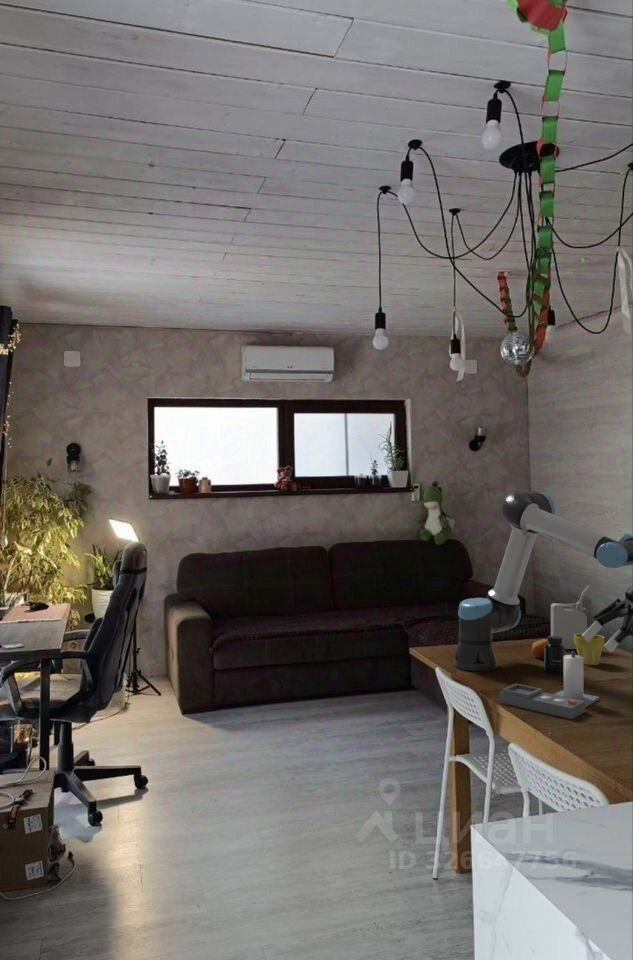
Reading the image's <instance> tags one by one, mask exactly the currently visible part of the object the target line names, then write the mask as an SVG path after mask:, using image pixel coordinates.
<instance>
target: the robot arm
mask: <svg viewBox="0 0 633 960" xmlns="http://www.w3.org/2000/svg"><path fill="white" fill-rule="evenodd" d="M500 505H501V506H500V512H501V513H500V514H501V515H502V517H503V520H505V522H507V523H508V524H509V525H510V527H511V529H512V530H511V533H510V535H509V539H508V541H507V545H506V549H505V551H504V555H503V557H502V562H501V565H500V567H499V570H498V573H497V577H496V581H495V584H494V586H493V588H491V589H489V590H488V592H487V595H486V597H474V598H473V597H471V598H467V599H464V600H462V601H460V603H459V606H458V612H457V613H458V614H457V615H458V645H457V647H456V651H455V654H454V657H453V666H454V667H456V668H458V669H460V670H464V671H473V672H488V671H489V672H490V671H494V670H496V669H497V668H498V659H497V656H496V653H495V650H494V646H493V634H495V633H500V632H506V631H509V630H511V629H513V628H515V627H516V626H517V625H518V624H519V622H520V620H521V616H522V615H521V614H522V610H521V608H520V602H521V601H520V599H519V597H518V594H519V591H520V588H521V585H522V582H523V578H524V576H525V574H526V573H525V572H526V568H527V567H528V562H529V559H530V557H531V553H532V550H533V548H534V544H535V541H536V539H537V537H538V536H540V535H542V536H543V537H546V538H548V539H551V540H553V541H555V542H557V543H559V544H562V545H565V546H567V547H569V548H570V549H573V550H576V551H578V552H580V553H582V554H585V555H586V556H589V557H591V558H593V559H596V560H597V561H598V562H599V563H600V564H601V566H603V567H605V568H609V569H610V568H611V569H617V568H621V567H622V568H623V567H626V566H627V567H628V566H633V535H632V534H630V533H625V534H623V535H621V536H620V537H618V539H617V540H615V539H613V538H610V537H607V536H606V535H604V534H601V533H598V532H596V531H594V530H592V529H589V528H587V527H584V526H582V525H579V524H577V523H575V522H572V521H570V520H567V519H565V518H562V517H560V516H557V515H556V514H555V510H556V507H555V503H554V501H553V500H552V498H551V497H550V496H549V495H548V494H546V493H544V492H540V491H537V490H533V491H513V492H511V493H509V494H508V495H506V496H505V497H503V500H502V502H501V504H500ZM624 597H625V599H624V600H621V599H620V598H617V599H616V600H614V602H612V603H611V604H609V605H607V607H605V608H603V609H602V610H600V611H599V612H598V613H596V614H595V615H594V616H593V618H594V621H593V623H592V624H591V625H590V626H589V627H587V630H586V631H585V632H584V634H583V635H582V637H583V638H584V639H585V640H586V641H587V642H589V641H590V640H591V639H592V638H593V637H594V636H595V635H598V633H599V632H600V631H601V630H602V628H604V625H605V624H607V623H610V622H611V621H614V620H615V619H617V618H623V619H622V620H623V621H622V624H621V627H620V628H619V629H617V631H615V632H614V634H613V635H612V636H611V637H610V638H609V639H608V641H606V643H605V645H604V648H605V649H606V650H607V651H608V652H609V653H613V651H614V650H615V649H616V648H617V647H618V646H619V645H620V644H621V643H622V642H623V640H625V639H626V637H629V636H631V637H633V585H631V586H630V587H629V588H628V589H627V590H626V591H625V592H624Z"/></svg>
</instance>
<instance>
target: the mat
mask: <svg viewBox="0 0 633 960" xmlns="http://www.w3.org/2000/svg"><path fill="white" fill-rule="evenodd" d="M553 694H554V695H559V696H563V697H564V689H561V690H560V691H558V692H556V693H553ZM599 700H600V696H596V695H591V694H586V693H584V698H583V699H582V701H585V708H587V707H588V706H591V705H592V704H594V703H596V702H598V701H599Z"/></svg>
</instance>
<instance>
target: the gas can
mask: <svg viewBox="0 0 633 960" xmlns="http://www.w3.org/2000/svg"><path fill="white" fill-rule="evenodd" d="M591 587H592V586H591V585H590V584H588V586H586V588H584V589H583V591H582V592H581V594H580V597H579V600H578V601H577V602H573V603H555V602H554V603H551V604H550V636H559V637H562V645H563V646H564V647H565V649H576V650H575V651H577V648H576V645H575V644H574V635H575V634H582V633H584V632H585V631H586V630H587V629H588V616H587V615H586V613H584V612H583V611H584V610H586V609H587V608H586V607H583V600H584V597H585V594H586V593H587V592H588V591H589V589H590V588H591ZM574 606H575V607H574Z"/></svg>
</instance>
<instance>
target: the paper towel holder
mask: <svg viewBox="0 0 633 960" xmlns="http://www.w3.org/2000/svg"><path fill="white" fill-rule="evenodd" d="M563 690H564V697H568V698H573V699H578V700H582V699H583V698H584V694H585V692H584V664H583V657H582V656H578V654H577V655H576V652H575V650H571V654H565V656H564V673H563Z"/></svg>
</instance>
